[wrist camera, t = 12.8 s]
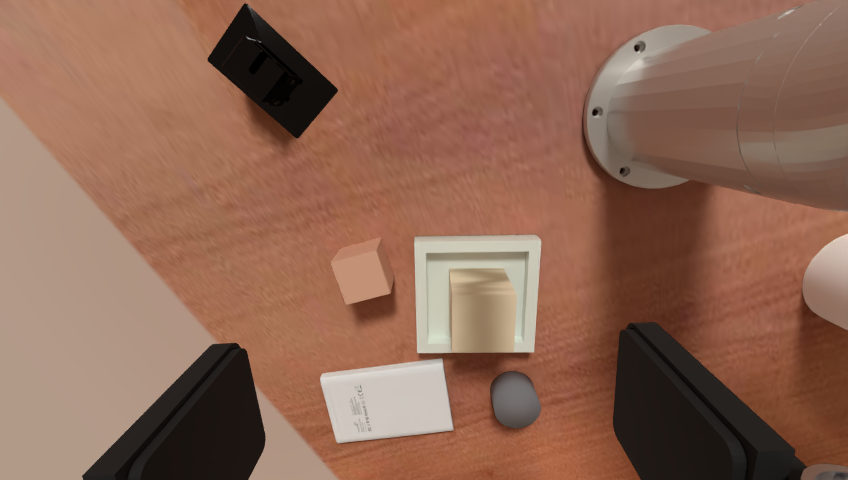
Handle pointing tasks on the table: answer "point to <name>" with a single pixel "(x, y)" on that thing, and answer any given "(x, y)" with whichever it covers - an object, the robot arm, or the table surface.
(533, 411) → the grey rounded lump
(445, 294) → the tray
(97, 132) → the table surface
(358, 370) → the external hard drive
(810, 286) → the white rounded pedestal block
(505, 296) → the beech block
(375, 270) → the terracotta cube
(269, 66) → the black boxy piece
